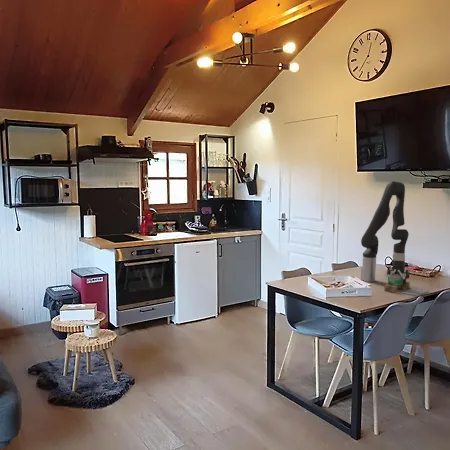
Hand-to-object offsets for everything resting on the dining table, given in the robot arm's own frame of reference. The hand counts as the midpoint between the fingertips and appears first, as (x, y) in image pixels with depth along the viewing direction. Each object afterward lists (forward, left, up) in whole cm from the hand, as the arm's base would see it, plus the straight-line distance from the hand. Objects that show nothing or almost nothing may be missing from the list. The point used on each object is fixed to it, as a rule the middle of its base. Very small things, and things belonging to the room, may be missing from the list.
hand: (397, 283), depth 303 cm
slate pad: (+12, 0, -4) cm, 13 cm away
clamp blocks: (0, 0, -4) cm, 4 cm away
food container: (0, 0, -4) cm, 4 cm away
